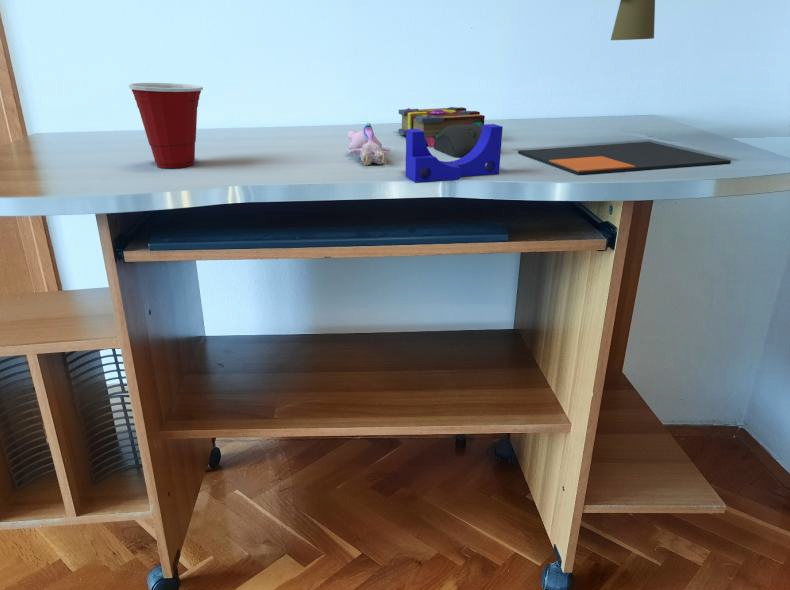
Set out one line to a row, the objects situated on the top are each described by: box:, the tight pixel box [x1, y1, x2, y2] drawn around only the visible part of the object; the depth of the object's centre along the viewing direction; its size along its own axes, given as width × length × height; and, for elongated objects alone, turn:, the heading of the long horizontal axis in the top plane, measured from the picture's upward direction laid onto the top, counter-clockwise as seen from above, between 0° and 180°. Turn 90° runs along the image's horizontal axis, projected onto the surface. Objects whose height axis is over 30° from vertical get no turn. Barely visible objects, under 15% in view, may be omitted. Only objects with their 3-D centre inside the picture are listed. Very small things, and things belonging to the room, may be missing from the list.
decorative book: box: [398, 106, 486, 148], centre depth 113 cm, size 11×16×5 cm
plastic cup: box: [128, 82, 204, 169], centre depth 97 cm, size 11×11×12 cm
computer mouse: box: [433, 124, 482, 159], centre depth 101 cm, size 6×11×4 cm, turn 12°
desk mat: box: [517, 141, 732, 176], centre depth 92 cm, size 22×18×1 cm
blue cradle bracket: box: [405, 123, 504, 183], centre depth 84 cm, size 12×4×6 cm, turn 100°
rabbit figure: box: [347, 122, 391, 167], centre depth 97 cm, size 6×6×15 cm
